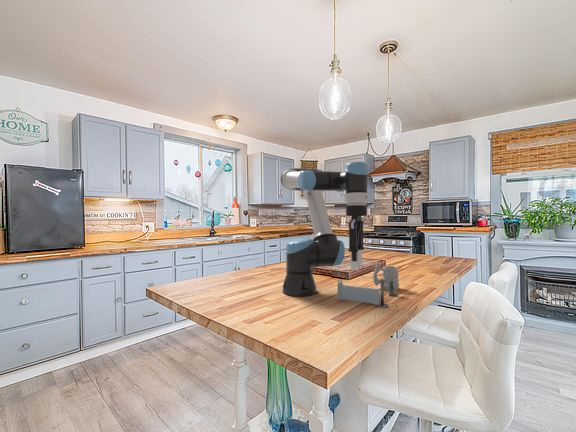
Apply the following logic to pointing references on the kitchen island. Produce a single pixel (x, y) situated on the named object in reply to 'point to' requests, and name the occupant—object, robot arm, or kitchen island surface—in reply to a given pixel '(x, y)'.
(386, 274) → the mug
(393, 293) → the stop post
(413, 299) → the kitchen island surface
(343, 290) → the gate
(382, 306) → the hinge post
